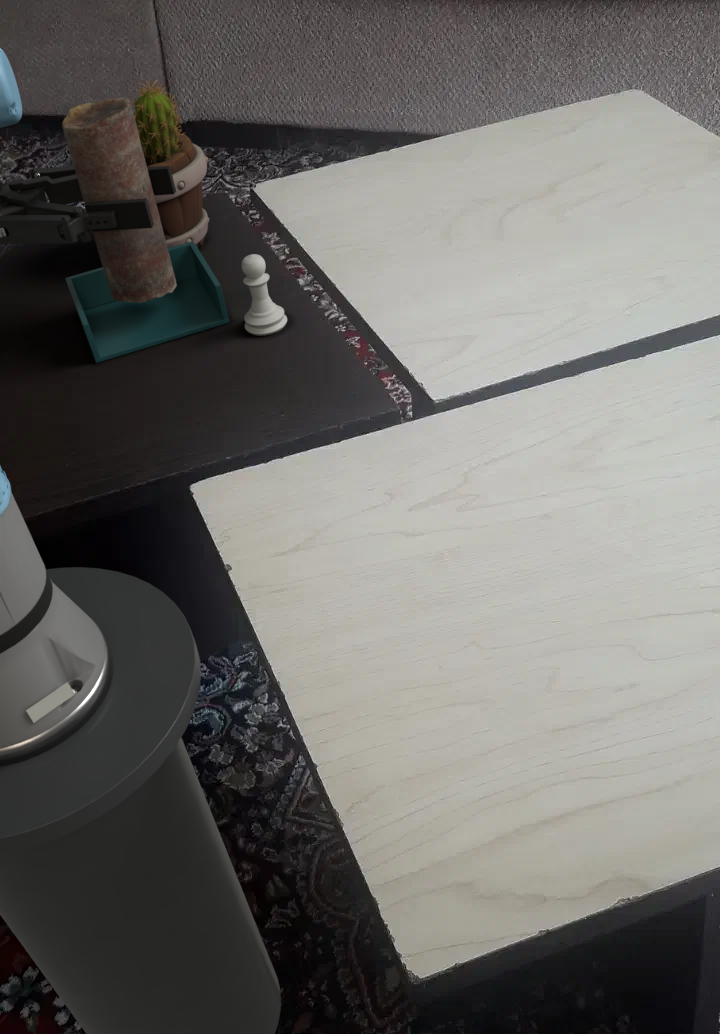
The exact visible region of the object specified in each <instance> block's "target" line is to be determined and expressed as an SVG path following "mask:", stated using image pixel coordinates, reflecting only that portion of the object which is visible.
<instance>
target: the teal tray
mask: <svg viewBox="0 0 720 1034" xmlns="http://www.w3.org/2000/svg"><path fill="white" fill-rule="evenodd" d="M168 251H169V255H170V259H171V263H172V267H173V271H174V275H175V279H176V284H177V287H176V288H175V289H174V290H173V292H172V293H168V294H166V295H164V296H162V297H159V298H155V299H152V300H149V301H146V302H142V303H136V302H135V303H134V302H124V301H116V300H115V299H113V298H112V296H111V294H110V290H109V287H108V283H107V280H106V276H105V273H104V270H103V266H102V267H98V268H96V269H92V270H88V271H85V272H82V273H78V274H75V275H70V276H69V277H65V282H66V284H67V287H68V290H69V292H70V296H71V299H72V302H73V304H74V307H75V310H76V313H77V315H78V318H79V321H80V323H81V326H82V330H83V332H84V334H85V336H86V340H87V342H88V345H89V347H90V350H91V354H92V356H93V359H94V360H95V363H96V364H97V363H102V362H104V361H107V360H112V359H114V358H117V357H120V356H124V355H128V354H131V353H134V352H138V351H140V350H143V349H146V348H151V347H154V346H156V345H160V344H164V343H167V342H170V341H174V340H178V339H179V338H184V337H187V336H190V335H194V334H197V333H200V332H203V331H206V330H210V329H213V328H216V327H219V326H223V325H227V324H230V319H229V314H228V310H227V306H226V302H225V297H224V294H223V290H222V285H221V283H220V282H219V280H218V279H217V277H216V275H215V274H214V272H213V271H212V269H211V267H210V265H209V264H208V262H207V261H206V259H205V257H204V255H202V253H201V251H200V249H199V247H198V248H197V246H196V245H195V243H194V242H193V241H192V242H188V243H185V244H182V245H178V246H175V247H171V248H168Z"/></svg>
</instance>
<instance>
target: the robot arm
mask: <svg viewBox="0 0 720 1034" xmlns="http://www.w3.org/2000/svg"><path fill="white" fill-rule="evenodd" d="M22 117H23V105H22V99H21V94H20V89H19V87H18V83H17V79H16V76H15V74H14V71H13V68H12V65H11V62H10V61H9V58H8V56H7V54H6V53H5V51H4V50H3V49H2V48H1V47H0V129H1V128H6V127H9V126H12V125H16V124H18V123H19V122H20V120H21V119H22ZM147 169H148V173H149V178H150V181H151V185H152V190H153V193H154V196H156V195H171V194H175V192H176V188H175V184H174V180H173V177H172V173H171V169H170V166H157V167H147ZM28 175H29V179H25V178H16V179H12V180H10V181H8V182H7V183H5V182H3V181H2V180H0V246H4V245H9V244H28V245H29V244H37V245H38V244H39V245H40V244H42V245H43V244H45V245H48V244H49V245H55V244H56V245H71V244H75V243H77V242H78V241H79V239H78V236H80V239H81V242H82V243H83V244H85V243H89V242H91V241H92V240H93V236H92V233H91V231H92V232H93V231H109V230H126V229H143V228H152V227H153V226H154V222H153V218H152V215H151V211H150V208H149V204H148V201H147V198H144V199H129V200H113V201H98V202H87V203H86V204H85V203H84V208H83V207H81V206H75V205H71V204H77V203H80V202H84V199H83V196H82V193H81V190H80V186H79V183H78V179H77V176H76V172H75V169H74V165H73V164H72V165H63V166H56V167H50V168H49V167H33V168H30V169H29V170H28ZM84 209H85V211H84ZM112 676H113V660H112V655H111V652H110V649H109V647H108V645H107V643H106V640H105V638H104V636H103V633H102V632H101V630H100V628H99V627H98V625H97V624H96V623H95V622H94V621H93V620H92V619H91V618H90V617H89V616H88V615H87V614H86V613H85V612H84V611H82V610H81V609H80V608H79V607H78V606H77V605H76V604H75V603H74V602H73V601H72V600H71V599H70V598H69V597H68V596H66V595H65V594H64V593H63V592H62V591H61V590H60V589H59V588H58V587H57V586H56V585H55V584H54V583H53V582H52V581H51V578H50V576H49V574H48V572H47V568H46V565H45V563H44V561H43V558H42V557H41V555H40V552H39V550H38V548H37V546H36V544H35V541H34V539H33V536H32V534H31V532H30V530H29V527H28V526H27V523H26V522H25V519H24V517H23V514H22V512H21V510H20V507H19V506H18V504H17V502H16V499H15V497H14V495H13V493H12V485H11V483H10V481H9V479H8V477H7V474H6V472H5V470H3V469H2V466H1V465H0V766H5V765H10V764H14V763H18V762H21V761H24V760H27V759H30V758H32V757H35V756H37V755H40V754H42V753H44V752H46V751H48V750H50V749H52V748H53V747H55V746H57V745H59V744H60V743H62V742H63V741H65V740H66V739H68V738H69V737H70V736H72V735H73V734H74V733H75V732H77V731H78V730H79V729H80V728H81V727H82V726H83V725H84V724H85V723H86V722H87V721H88V720H89V719H90V718H91V717H92V716H93V715H94V713H95V712H96V711H97V709H98V708H99V707H100V705H101V704H102V702H103V700H104V698H105V697H106V694H107V692H108V690H109V687H110V684H111V681H112Z"/></svg>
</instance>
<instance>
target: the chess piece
mask: <svg viewBox="0 0 720 1034" xmlns="http://www.w3.org/2000/svg"><path fill="white" fill-rule="evenodd" d="M266 269H267V265H266V261H265V259H264V258H263V256H261V255H260V254H257V253H252V254H248V255H246V256H245V257H244V258H243V259H242V261H241V270H242V273H243V274H244V275H245V277H244V278H243V280H242V282H243V284H245V285H246V286H247V287H248V289H249V292H250V296H251V305H250V308H249V310H248V311H247V312H246V313H245V314H244V316H243V320H244V322H245V323H244V329H245V330H246V331H247V332H248V333H249V334H250V335H253V336H258V337H261V336H263V337H264V336H269V335H270V336H271V335H273V334H276V333H278V332H280V331H281V330H283V329H284V328H285V327H286V324H287V322H288V317H287V315H286V314H285V309H284V308H283V307H282V306H280V305H277V304H276V302H273V300H272V298H271V297H270V294H269V290H268V284H267V283H268V281H269V280H270V275H269V273H267V272H266Z"/></svg>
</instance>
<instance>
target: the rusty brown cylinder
mask: <svg viewBox="0 0 720 1034" xmlns="http://www.w3.org/2000/svg"><path fill="white" fill-rule="evenodd" d="M131 103H132V102H131V101H130V100H129V98H126V97H119V98H115V97H113V98H105V99H102V100H100V101H97V102H87V103H83V104H79V105H76V106H73V107H71V108H70V109H69V111H68V112H67V114H66V117H64V119H63V121H62V123H61V125H62V130H63V135H64V138H65V141H66V144H67V148H68V151H69V155H70V158H71V162H72V165H74V169H75V172H76V176H77V179H78V183H79V186H80V190H81V193H82V196H83V199H84V201H83V202H84V205H85V204H86V203H87V202H98V201H113V200H129V199H144V198H147V201H148V204H149V208H150V211H151V215H152V218H153V222H154V226H153V227H152V228H143V229H126V230H109V231H92V234H93V239H94V241H95V245H96V249H97V253H98V256H99V260H100V262H101V266H102V267H103V270H104V273H105V276H106V280H107V283H108V287H109V290H110V294H111V296H112V298H113V299H115V300H116V301H124V302H134V303H135V302H136V303H142V302H146V301H149V300H152V299H155V298H159V297H162V296H164V295H166V294H168V293H172V292H173V290H174V289H175V288H176V287H177V284H176V279H175V275H174V271H173V267H172V263H171V259H170V255H169V251H168V247H167V244H166V240H165V236H164V232H163V228H162V224H161V221H160V216H159V212H158V208H157V205H156V201H155V197H154V193H153V190H152V185H151V181H150V178H149V173H148V169H147V166H146V162H145V158H144V154H143V150H142V146H141V142H140V138H139V134H138V129H137V125H136V122H135V118H134V114H133V112H134V109H133V105H132V104H131ZM131 105H132V106H131Z"/></svg>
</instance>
